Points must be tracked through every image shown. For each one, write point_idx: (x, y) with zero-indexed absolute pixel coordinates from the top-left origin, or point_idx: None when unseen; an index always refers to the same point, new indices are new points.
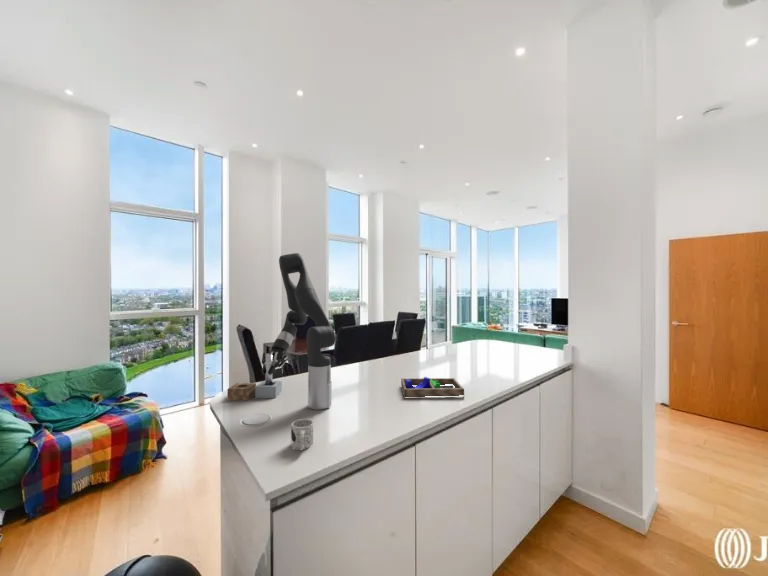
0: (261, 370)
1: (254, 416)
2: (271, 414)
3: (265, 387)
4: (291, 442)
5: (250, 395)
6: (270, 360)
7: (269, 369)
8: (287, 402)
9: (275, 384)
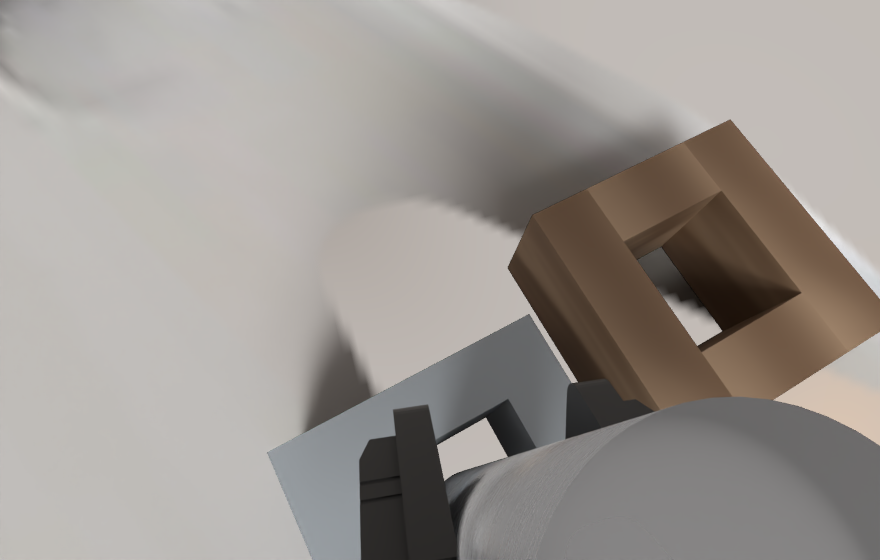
0: (645, 410)
1: (146, 45)
2: (33, 118)
3: (407, 381)
4: None
5: (546, 309)
6: (489, 537)
7: (425, 451)
8: (63, 408)
9: (359, 548)
